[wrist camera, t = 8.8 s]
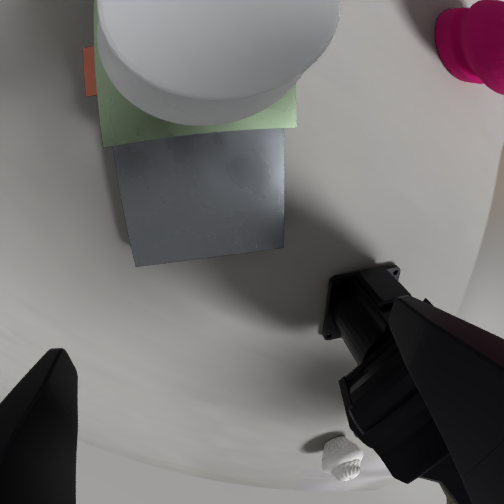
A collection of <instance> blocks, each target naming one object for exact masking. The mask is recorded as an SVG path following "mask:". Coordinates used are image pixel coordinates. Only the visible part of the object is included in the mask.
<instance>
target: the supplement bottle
mask: <svg viewBox="0 0 504 504" xmlns="http://www.w3.org/2000/svg"><path fill="white" fill-rule="evenodd" d="M341 5H342V0H97V15H98V25H97V44H98V51H99V55H100V58H101V61H102V64H103V67H104V69H105V71H106V73H107V75H108V77H109V78H110V80H111V82H112V83H113V85H114V86H115V87H116V88H117V90H118V91H119V92H120V93H121V94H122V95H123V96H124V97H125V98H126V99H127V100H128V101H130V102H131V103H132V104H133V105H135V106H136V107H138V108H139V109H141V110H142V111H144V112H146V113H148V114H150V115H152V116H154V117H157V118H159V119H162V120H165V121H169V122H173V123H177V124H183V125H192V126H210V125H221V124H226V123H231V122H235V121H238V120H241V119H244V118H247V117H250V116H252V115H254V114H256V113H259V112H261V111H262V110H264V109H266V108H268V107H269V106H271V105H272V104H274V103H275V102H276V101H278V100H279V99H280V98H281V97H283V96H284V95H285V94H286V93H287V92H288V91H289V90H290V89H291V88H292V87H293V86H294V84H295V83H296V82H297V81H298V80H299V78H300V77H301V75H302V74H303V73H304V72H305V71H306V70H307V69H308V68H309V67H310V66H311V65H312V64H313V63H315V62H316V61H317V60H318V58H319V57H320V56H321V55H322V53H323V52H324V51H325V49H326V48H327V46H328V45H329V43H330V42H331V40H332V38H333V36H334V34H335V31H336V28H337V25H338V22H339V18H340V13H341Z"/></svg>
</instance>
